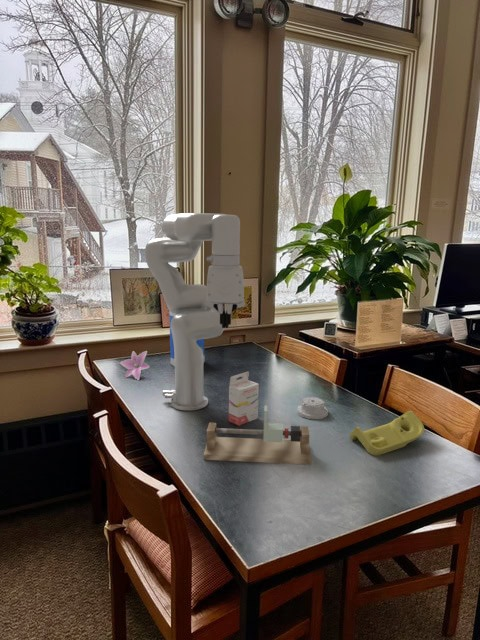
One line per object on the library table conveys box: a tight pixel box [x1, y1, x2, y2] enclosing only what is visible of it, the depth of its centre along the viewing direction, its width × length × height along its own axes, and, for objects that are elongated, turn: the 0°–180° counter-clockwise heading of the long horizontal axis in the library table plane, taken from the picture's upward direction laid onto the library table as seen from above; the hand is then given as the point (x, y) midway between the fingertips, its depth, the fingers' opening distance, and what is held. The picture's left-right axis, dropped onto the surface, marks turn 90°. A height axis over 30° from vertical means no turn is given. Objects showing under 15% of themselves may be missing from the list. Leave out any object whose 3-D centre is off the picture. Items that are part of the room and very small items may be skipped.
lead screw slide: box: [203, 422, 312, 465], centre depth 126 cm, size 28×10×8 cm, turn 86°
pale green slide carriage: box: [263, 404, 284, 442], centre depth 125 cm, size 5×4×9 cm
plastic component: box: [349, 410, 425, 456], centre depth 133 cm, size 20×7×10 cm
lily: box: [119, 350, 151, 381], centre depth 184 cm, size 12×12×10 cm
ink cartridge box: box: [228, 371, 260, 427], centre depth 145 cm, size 9×5×15 cm, turn 134°
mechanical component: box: [296, 396, 329, 420], centre depth 152 cm, size 10×4×10 cm
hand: (225, 326), depth 131 cm, fingers closed
